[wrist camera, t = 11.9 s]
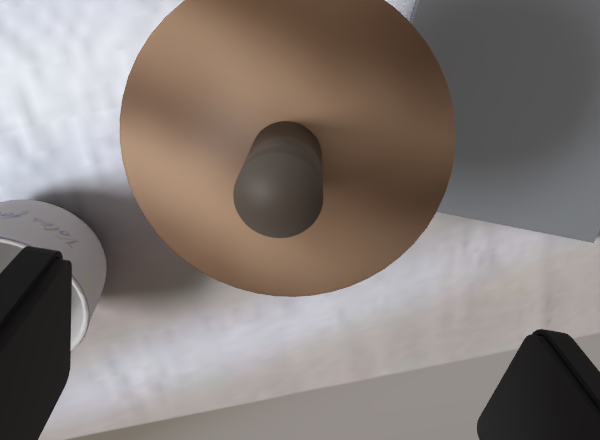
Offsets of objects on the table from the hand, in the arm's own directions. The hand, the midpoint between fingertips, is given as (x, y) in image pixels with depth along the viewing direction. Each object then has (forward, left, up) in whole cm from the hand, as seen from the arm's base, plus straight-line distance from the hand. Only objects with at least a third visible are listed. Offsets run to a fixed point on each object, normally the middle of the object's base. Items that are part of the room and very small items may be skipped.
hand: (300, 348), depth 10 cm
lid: (0, 0, -14) cm, 14 cm away
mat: (-4, +17, -26) cm, 31 cm away
